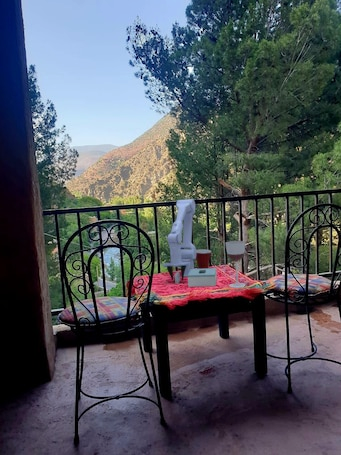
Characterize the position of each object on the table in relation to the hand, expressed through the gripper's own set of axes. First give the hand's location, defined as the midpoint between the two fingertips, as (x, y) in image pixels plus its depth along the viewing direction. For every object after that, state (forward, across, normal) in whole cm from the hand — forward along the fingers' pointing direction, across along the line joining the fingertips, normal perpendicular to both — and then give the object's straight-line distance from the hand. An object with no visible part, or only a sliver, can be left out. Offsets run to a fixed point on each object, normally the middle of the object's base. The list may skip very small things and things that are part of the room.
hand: (177, 279), depth 196 cm
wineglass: (+2, +32, -9) cm, 33 cm away
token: (+2, 0, 0) cm, 2 cm away
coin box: (+1, +14, -2) cm, 14 cm away
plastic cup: (+2, +12, +27) cm, 30 cm away
